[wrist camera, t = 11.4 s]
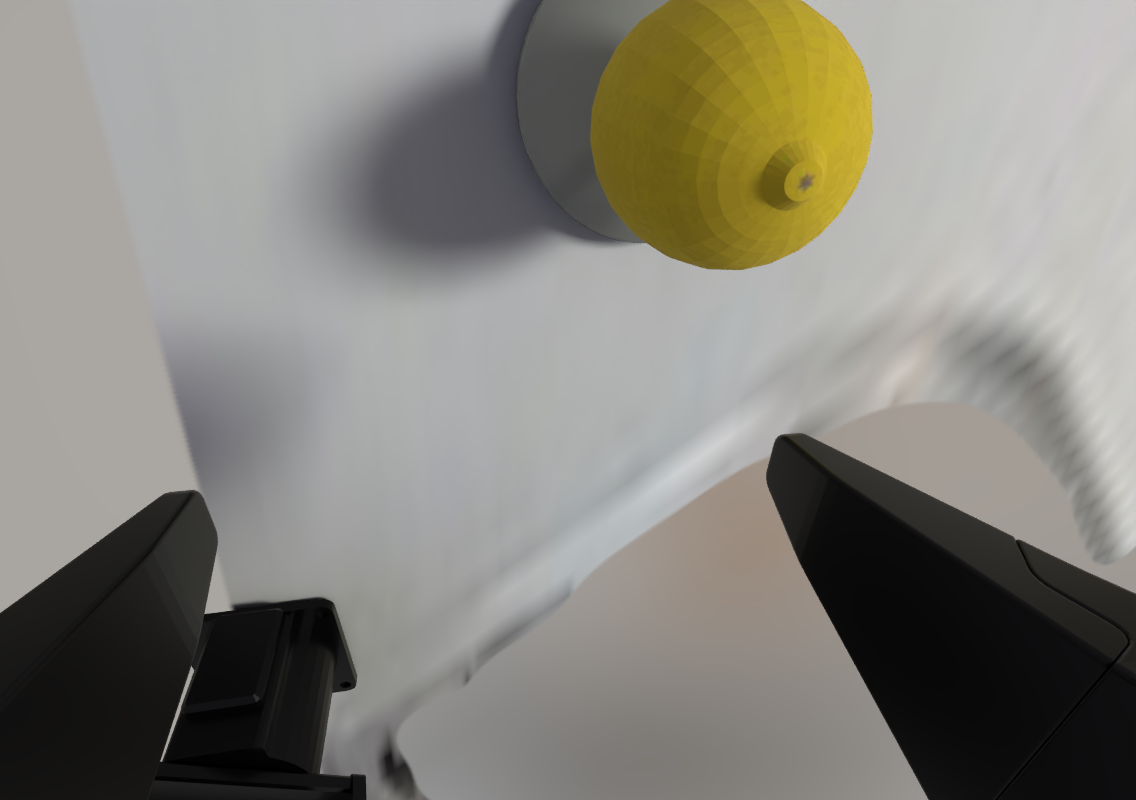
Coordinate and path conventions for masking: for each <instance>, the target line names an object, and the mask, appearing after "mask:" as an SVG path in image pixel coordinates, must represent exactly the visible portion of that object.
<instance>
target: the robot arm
mask: <svg viewBox="0 0 1136 800" xmlns="http://www.w3.org/2000/svg"><path fill="white" fill-rule="evenodd" d="M766 480H767V485H768V488H769V491H770V493H771V495H772V498H773V500H774V503H775V505H776V508H777V510H778V512H779V515H780V517H781V520H782V522H783V525H784V527H785V530H786V532H787V534H788V537H789V539H790V542H791V544H792V547H793V549H794V551H795V553H796V556H797V558H798V560H799V562H800V564H801V566H802V568H803V570H804V572H805V574H806V576H807V577H808V580H809V581H810V583H811V585H812V587H813V589H814V591H815V592H816V594H817V596H818V598H819V600H820V602H821V603H822V605H823V607H824V609H825V610H826V612H827V614H828V616H829V618H830V620H831V622H832V624H833V625H834V627H835V629H836V631H837V633H838V635H839V636H840V638H841V640H842V642H843V644H844V646H845V647H846V649H847V651H848V653H849V655H850V657H851V658H852V660H853V662H854V664H855V666H856V667H857V669H858V671H859V673H860V675H861V677H862V678H863V680H864V682H865V684H866V686H867V688H868V689H869V691H870V693H871V695H872V697H873V699H874V700H875V702H876V704H877V706H878V708H879V710H880V711H881V713H882V715H883V717H884V719H885V721H886V723H887V724H888V726H889V728H890V730H891V732H892V734H893V735H894V737H895V739H896V741H897V743H898V744H899V746H900V748H901V750H902V752H903V754H904V756H905V757H906V759H907V761H908V763H909V765H910V766H911V768H912V770H913V772H914V774H915V776H916V778H917V779H918V781H919V783H920V785H921V787H922V789H923V790H924V792H925V794H926V796H927V798H928V799H929V800H1136V594H1135V593H1133V592H1131V591H1129V590H1126V589H1124V588H1122V587H1120V586H1118V585H1115V584H1113V583H1111V582H1109V581H1106V580H1104V579H1102V578H1099V577H1097V576H1095V575H1093V574H1091V573H1088V572H1086V571H1084V570H1082V569H1079V568H1077V567H1075V566H1073V565H1071V564H1069V563H1067V562H1065V561H1063V560H1061V559H1059V558H1057V557H1054V556H1052V555H1050V554H1048V553H1046V552H1044V551H1042V550H1040V549H1038V548H1036V547H1034V546H1032V545H1030V544H1028V543H1026V542H1024V541H1022V540H1015V538H1014V537H1013V536H1011V535H1009V534H1007V533H1005V532H1003V531H1001V530H999V529H997V528H995V527H993V526H991V525H989V524H986V523H985V522H982V521H981V520H979V519H977V518H975V517H973V516H970V515H968V514H966V513H964V512H962V511H960V510H958V509H956V508H954V507H952V506H950V505H948V504H946V503H944V502H942V501H940V500H938V499H936V498H934V497H932V496H930V495H928V494H926V493H924V492H922V491H920V490H917V489H915V488H913V487H911V486H909V485H907V484H905V483H903V482H901V481H899V480H897V479H895V478H893V477H891V476H889V475H887V474H885V473H883V472H881V471H879V470H876V469H875V468H872V467H871V466H869V465H867V464H865V463H862V462H860V461H858V460H856V459H854V458H852V457H850V456H848V455H846V454H844V453H842V452H840V451H838V450H836V449H834V448H832V447H830V446H828V445H826V444H824V443H822V442H820V441H818V440H816V439H814V438H812V437H810V436H808V435H805V434H803V433H793V434H782V435H780V436H778V437H777V438H776V440H775V442H774V446H773V449H772V453H771V457H770V461H769V464H768V468H767V473H766ZM217 546H218V537H217V531H216V528H215V526H214V523H213V521H212V518H211V516H210V513H209V511H208V508H207V506H206V503H205V501H204V498H203V497H202V495H201V494H200V493H199V492H198V491H195V490H189V491H177V492H169V493H165V494H163V495H162V496H160V497H159V498H158V499H156V500H155V501H153V502H152V503H151V504H149V505H148V506H147V507H145V508H144V509H142V510H141V511H140V512H138V513H137V514H136V515H134V516H133V517H132V518H130V519H129V520H127V521H126V522H125V523H123V524H122V525H120V526H119V527H118V528H116V529H115V530H114V531H112V532H111V533H109V534H108V535H107V536H105V537H104V538H103V539H101V540H100V541H99V542H97V543H96V544H94V545H93V546H92V547H90V548H89V549H88V550H86V551H85V552H83V553H82V554H81V555H79V556H78V557H77V558H75V559H74V560H72V561H71V562H70V563H68V564H67V565H66V566H64V567H63V568H61V569H60V570H59V571H57V572H56V573H55V574H53V575H52V576H51V577H49V578H48V579H46V580H45V581H44V582H42V583H41V584H40V585H38V586H37V587H35V588H34V589H33V590H31V591H30V592H29V593H27V594H26V595H24V596H23V597H22V598H20V599H19V600H18V601H16V602H15V603H13V604H12V605H11V606H9V607H8V608H7V609H5V610H4V611H2V612H1V613H0V800H366V776H365V775H360V774H351V776H339V775H326V774H320V768H321V761H322V755H323V749H324V742H325V736H326V729H327V723H328V717H329V710H330V704H331V698H332V693H334V692H341V691H347V690H351V689H353V688H355V686H356V682H357V674H356V671H355V668H354V664H353V661H352V658H351V655H350V652H349V649H348V645H347V642H346V639H345V636H344V633H343V630H342V626H341V623H340V620H339V617H338V614H337V611H336V608H335V605H334V603H333V602H331V601H329V600H325V599H322V600H313V601H305V602H297V603H289V604H281V605H273V606H265V607H257V608H249V609H242V610H234V611H226V612H218V613H210V614H204V613H205V607H206V602H207V597H208V592H209V587H210V582H211V577H212V572H213V567H214V562H215V556H216V551H217ZM191 666H192V667H193V669H194V673H193V676H192V679H191V681H190V684H189V687H188V690H187V692H186V695H185V698H184V701H183V704H182V706H181V711H180V714H179V717H178V720H177V722H176V725H175V728H174V731H173V733H172V736H171V739H170V742H169V744H168V747H167V750H166V753H165V755H164V758H163V761H162V762H160V760H161V757H162V754H163V751H164V748H165V745H166V742H167V738H168V735H169V732H170V729H171V726H172V723H173V720H174V717H175V713H176V711H177V708H178V705H179V702H180V699H181V695H182V692H183V689H184V686H185V683H186V680H187V677H188V674H189V671H190V668H191Z"/></svg>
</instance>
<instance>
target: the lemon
mask: <svg viewBox="0 0 1136 800" xmlns="http://www.w3.org/2000/svg"><path fill="white" fill-rule="evenodd" d="M872 133H873V127H872V96H871V92H870V89H869V85H868V82H867V79H866V75H865V72H864V68H863V66H862V64H861V61H860V59H859V58H858V56H857V55H856V53H855V52H854V50H853V49H852V47H851V46H850V44H849V43H848V41H847V40H846V38H845V37H844V35H843V34H842V33H841V32H840V31H839V29H838V28H837V27H836V26H835V25H833V24H832V23H831V22H830V21H828V20H827V19H826V18H824V17H823V16H822V15H820V14H819V13H818V12H817V11H815V10H814V9H813V8H811V7H810V6H809V5H807V4H806V3H805V2H803V1H801V0H670V1H668V2H667V3H665V4H664V5H662V6H661V7H659V8H658V9H656V10H655V11H654V12H652V13H651V14H649V15H648V16H646V17H645V18H643V19H642V20H640V21H639V22H638V24H637V25H636V26H635V27H634V28H633V29H632V30H631V31H630V33H629V34H628V35H627V36H626V37H625V38H624V39H623V41H622V42H621V43H620V44H619V45H618V46H617V48H616V50H615V52H614V53H613V55H612V57H611V59H610V61H609V63H608V65H607V66H606V68H605V70H604V72H603V74H602V76H601V78H600V82H599V85H598V89H597V92H596V96H595V99H594V103H593V106H592V115H591V134H590V142H591V148H592V154H593V159H594V165H595V170H596V174H597V177H598V179H599V182H600V184H601V186H602V188H603V190H604V193H605V195H606V197H607V199H608V201H609V204H610V205H611V207H612V208H613V210H614V211H615V212H616V213H617V215H618V216H619V217H620V218H621V219H622V221H623V222H624V223H625V224H626V225H627V227H628V228H629V229H630V230H631V231H632V232H633V233H634V234H635V235H636V236H637V237H639V238H640V239H641V240H643V241H645V242H646V243H648V244H649V245H651V246H652V247H654V248H655V249H657V250H658V251H660V252H661V253H663V254H664V255H666V256H668V257H670V258H673V259H676V260H679V261H682V262H686V263H689V264H692V265H695V266H698V267H702V268H706V269H722V270H743V269H748V268H752V267H757V266H761V265H766V264H769V263H772V262H774V261H776V260H779V259H781V258H783V257H785V256H787V255H789V254H792V253H794V252H796V251H798V250H799V249H801V248H802V247H804V246H805V245H806V244H808V243H809V242H810V241H812V240H813V239H815V238H816V237H817V236H819V235H820V234H821V233H822V232H823V231H824V230H825V229H826V228H827V227H828V225H829V224H830V223H831V222H832V221H833V220H834V219H835V218H836V217H837V216H838V215H839V214H840V212H841V211H842V209H843V208H844V206H845V205H846V203H847V201H848V200H849V198H850V197H851V195H852V194H853V192H854V191H855V189H856V187H857V185H858V182H859V180H860V177H861V175H862V172H863V170H864V168H865V165H866V163H867V159H868V154H869V149H870V144H871V138H872Z"/></svg>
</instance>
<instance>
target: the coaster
mask: <svg viewBox="0 0 1136 800" xmlns="http://www.w3.org/2000/svg"><path fill="white" fill-rule="evenodd" d="M668 1H670V0H541V2H540V3H539V5H538V7H537V9H536V11H535V13H534V15H533V17H532V20H531V22H530V25H529V27H528V30H527V32H526V35H525V39H524V42H523V46H522V50H521V53H520V59H519V65H518V72H517V87H516V102H517V113H518V121H519V126H520V130H521V135H522V139H523V142H524V145H525V148H526V151H527V154H528V156H529V158H530V160H531V162H532V164H533V166H534V168H535V171H536V173H537V174H538V176H539V178H540V180H541V182H542V183H543V185H544V186H545V188H546V189H547V191H548V192H549V194H550V195H551V197H552V198H553V199H554V200H555V201H556V202H557V203H558V205H559V206H560V207H561V208H562V209H563V210H564V211H565V212H567V213H568V214H569V215H570V216H571V217H572V218H573V219H575V220H576V221H578V222H579V223H581V224H582V225H584V226H585V227H587V228H588V229H590V230H592V231H595V232H597V233H599V234H601V235H603V236H606V237H610V238H613V239H616V240H620V241H627V242H633V243H646V242H645V241H643V240H641V239H640V238H639V237H637V236H636V235H635V234H634V233H633V232H632V231H631V230H630V229H629V228H628V227H627V225H626V224H625V223H624V222H623V221H622V219H621V218H620V217H619V216H618V215H617V213H616V212H615V211H614V210H613V208H612V207H611V205H610V204H609V201H608V199H607V197H606V195H605V193H604V190H603V188H602V186H601V184H600V182H599V179H598V177H597V174H596V170H595V165H594V159H593V154H592V148H591V142H590V134H591V115H592V106H593V103H594V99H595V96H596V92H597V89H598V85H599V82H600V78H601V76H602V74H603V72H604V70H605V68H606V66H607V65H608V63H609V61H610V59H611V57H612V55H613V53H614V52H615V50H616V48H617V46H618V45H619V44H620V43H621V42H622V41H623V39H624V38H625V37H626V36H627V35H628V34H629V33H630V31H631V30H632V29H633V28H634V27H635V26H636V25H637V24H638V22H639V21H640V20H642V19H643V18H645V17H646V16H648V15H649V14H651V13H652V12H654V11H655V10H656V9H658V8H659V7H661V6H662V5H664V4H665V3H667V2H668Z"/></svg>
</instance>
